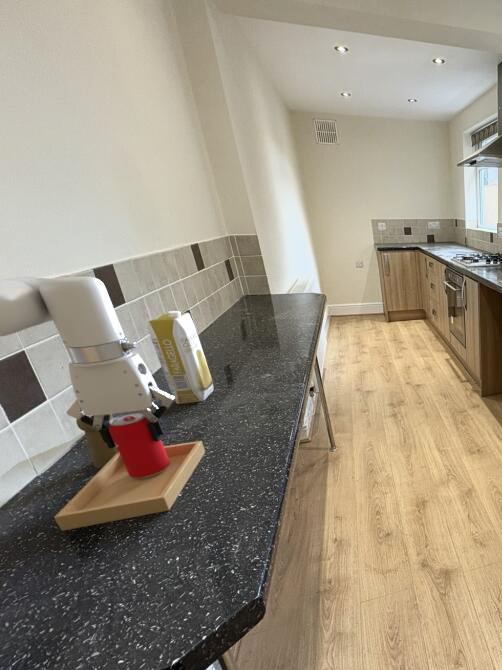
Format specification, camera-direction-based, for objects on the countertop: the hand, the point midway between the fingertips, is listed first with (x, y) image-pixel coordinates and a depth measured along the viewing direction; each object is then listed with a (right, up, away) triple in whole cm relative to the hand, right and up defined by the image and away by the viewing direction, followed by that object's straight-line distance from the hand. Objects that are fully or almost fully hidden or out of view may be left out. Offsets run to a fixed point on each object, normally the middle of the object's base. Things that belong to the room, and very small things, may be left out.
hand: (138, 440), depth 77 cm
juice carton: (-17, +7, +36) cm, 40 cm away
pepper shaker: (-12, -5, +8) cm, 15 cm away
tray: (+1, -9, 0) cm, 9 cm away
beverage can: (0, -7, +3) cm, 7 cm away
